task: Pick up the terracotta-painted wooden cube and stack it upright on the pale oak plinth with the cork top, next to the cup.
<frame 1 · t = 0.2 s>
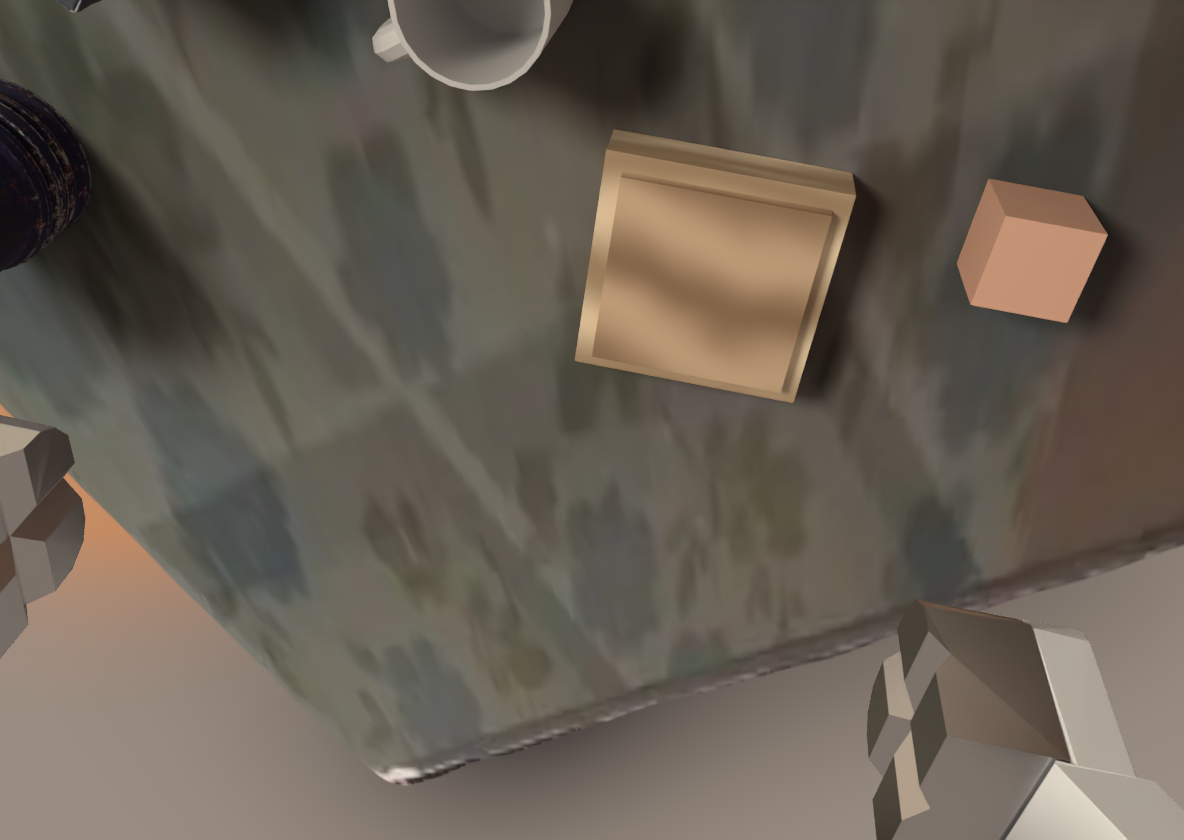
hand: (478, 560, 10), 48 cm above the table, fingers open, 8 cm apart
plinth: (708, 258, 60), on the table
cube: (1018, 229, 56), on the table
storage jar: (15, 157, 63), on the table
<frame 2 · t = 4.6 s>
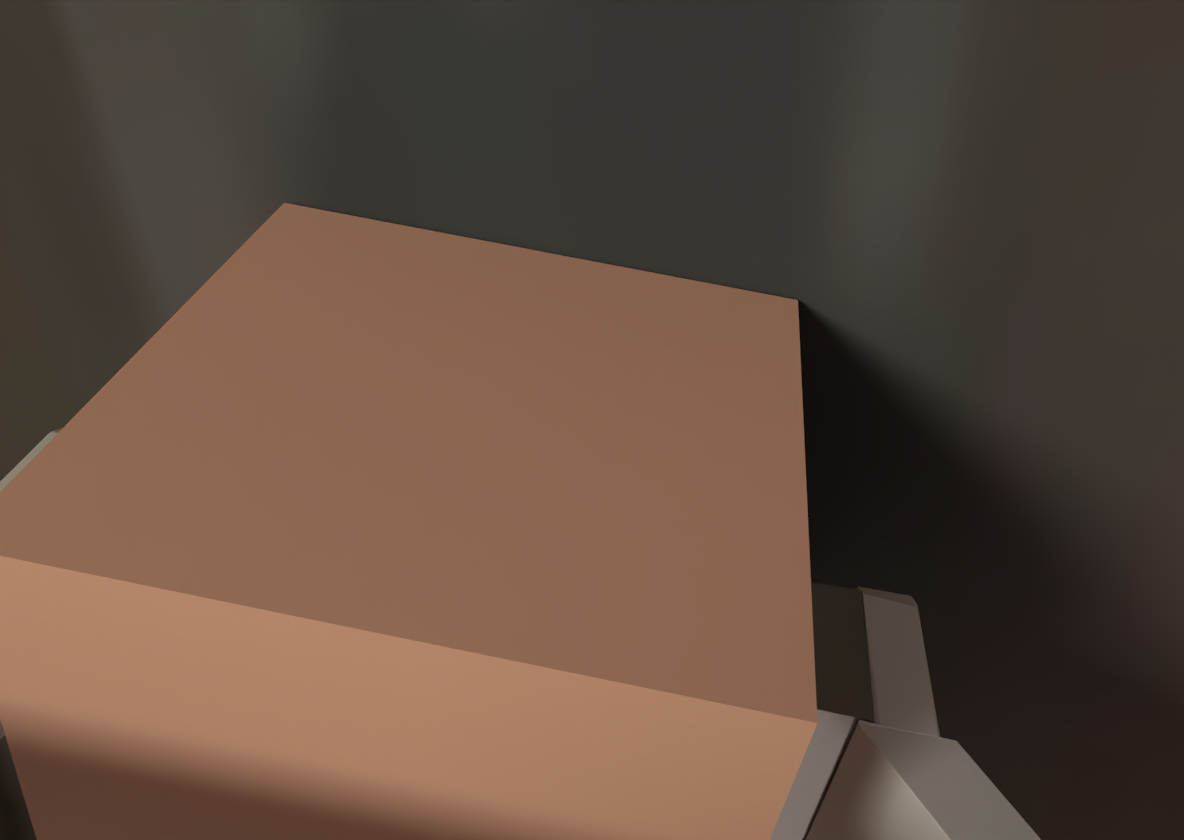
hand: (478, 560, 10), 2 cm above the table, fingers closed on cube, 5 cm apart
cube: (514, 457, 11), on the table, touching gripper
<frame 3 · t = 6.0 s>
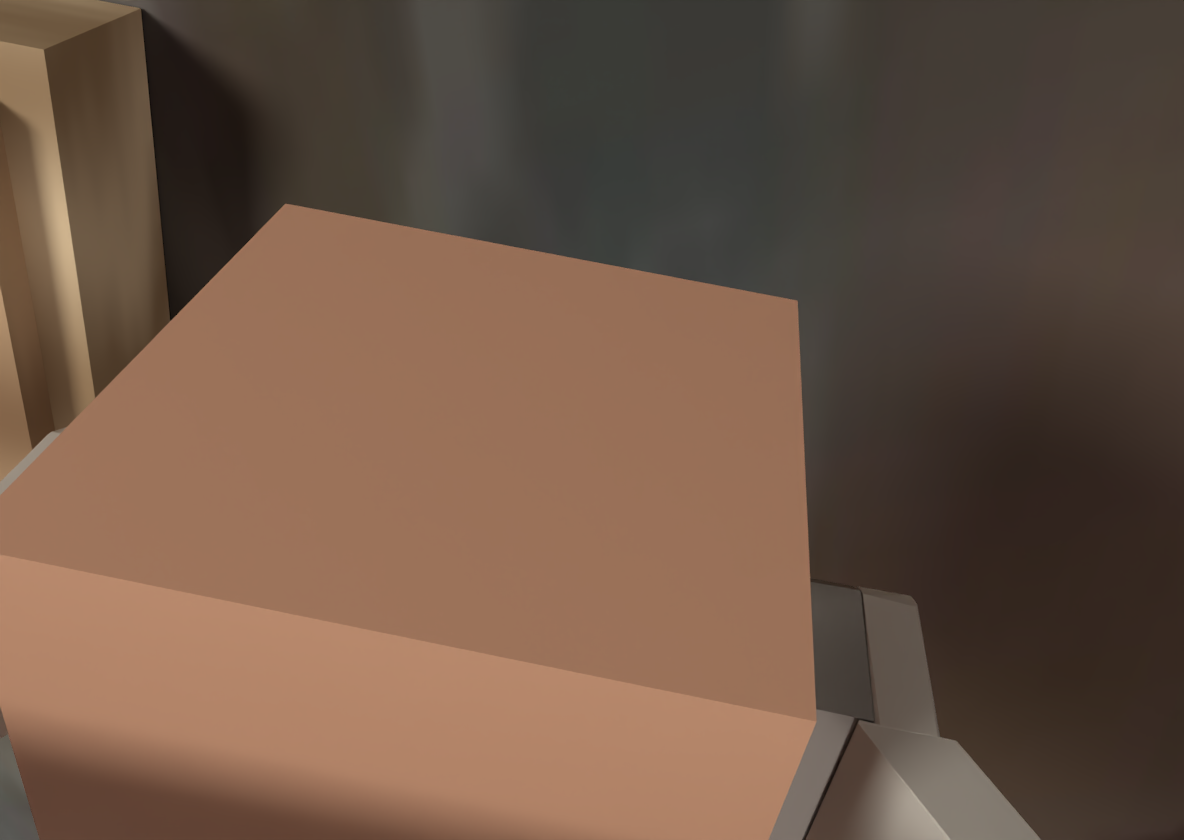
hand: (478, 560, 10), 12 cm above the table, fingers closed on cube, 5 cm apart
cube: (514, 457, 11), point 10 cm above the table, touching gripper
when the fingers open (7 cm above the table, at t = 10.6 s): cube drops 1 cm, resting on plinth.
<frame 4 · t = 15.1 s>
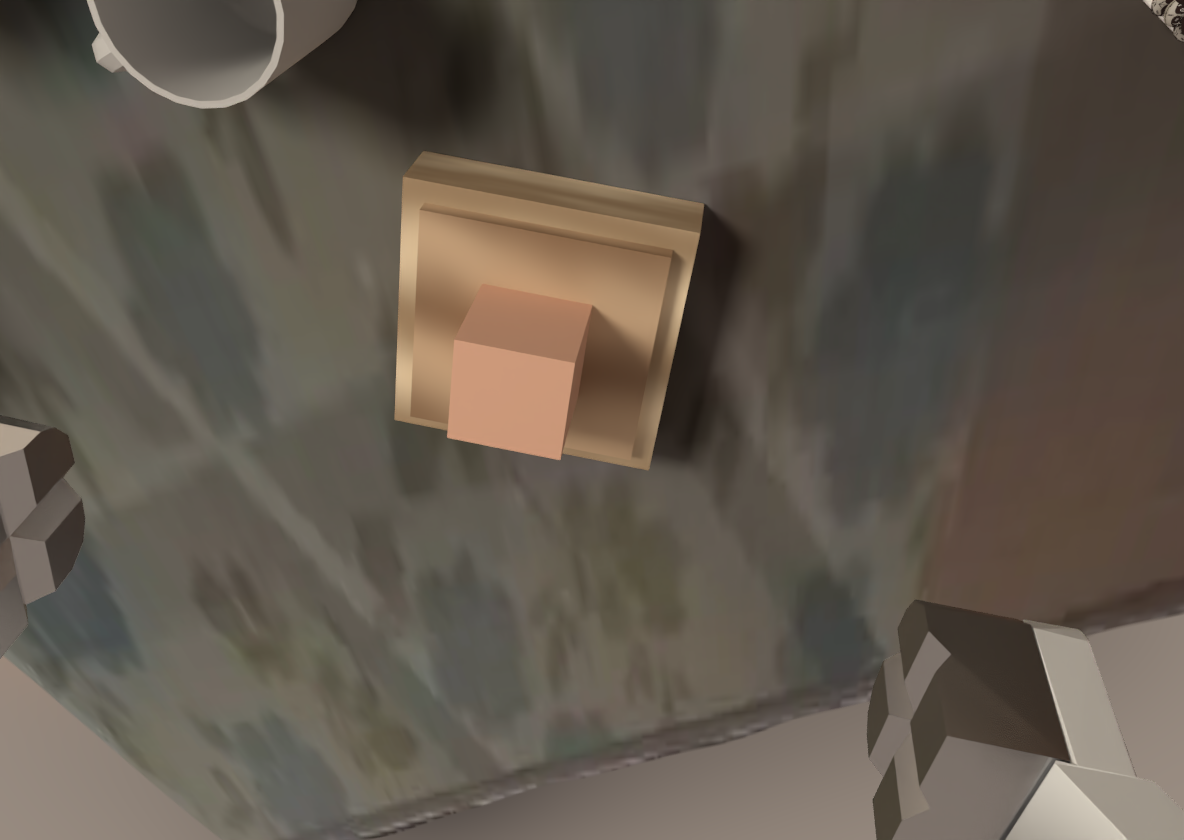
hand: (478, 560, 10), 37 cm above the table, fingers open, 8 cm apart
plinth: (547, 302, 51), on the table
cube: (531, 342, 48), point 4 cm above the table, touching plinth
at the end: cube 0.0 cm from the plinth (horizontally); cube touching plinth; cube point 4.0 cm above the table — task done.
